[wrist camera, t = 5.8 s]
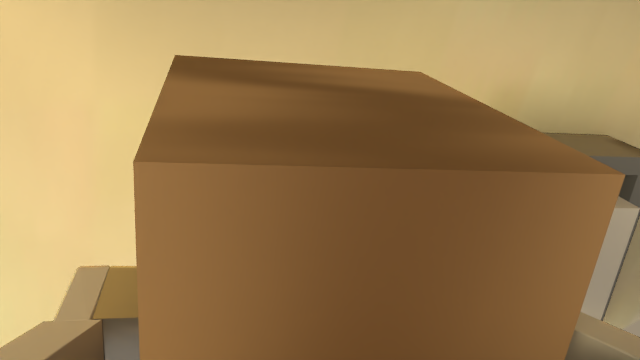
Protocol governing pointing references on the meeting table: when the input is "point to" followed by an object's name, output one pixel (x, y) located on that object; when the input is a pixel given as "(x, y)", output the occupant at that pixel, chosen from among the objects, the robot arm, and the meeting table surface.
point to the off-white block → (610, 258)
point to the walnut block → (356, 220)
